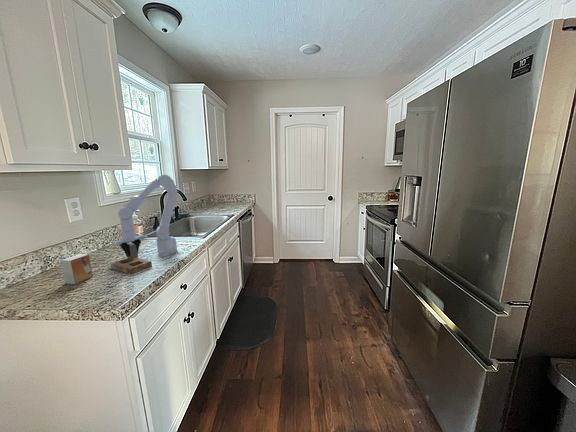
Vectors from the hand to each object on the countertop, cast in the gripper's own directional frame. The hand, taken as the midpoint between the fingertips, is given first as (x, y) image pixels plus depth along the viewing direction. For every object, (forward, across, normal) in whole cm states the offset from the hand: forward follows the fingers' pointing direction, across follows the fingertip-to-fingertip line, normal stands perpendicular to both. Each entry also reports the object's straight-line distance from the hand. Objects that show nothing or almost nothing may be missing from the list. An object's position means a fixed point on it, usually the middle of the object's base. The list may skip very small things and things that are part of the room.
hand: (132, 255), depth 128 cm
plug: (+2, 0, 0) cm, 2 cm away
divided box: (+2, +8, +12) cm, 14 cm away
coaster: (+2, 0, 0) cm, 2 cm away
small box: (+3, +25, +4) cm, 25 cm away
